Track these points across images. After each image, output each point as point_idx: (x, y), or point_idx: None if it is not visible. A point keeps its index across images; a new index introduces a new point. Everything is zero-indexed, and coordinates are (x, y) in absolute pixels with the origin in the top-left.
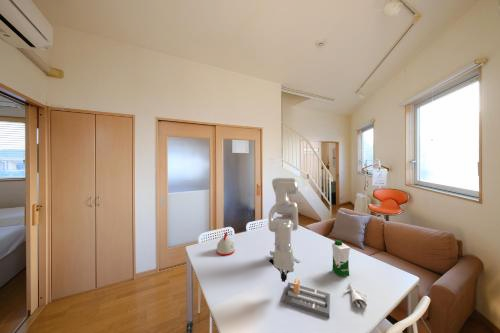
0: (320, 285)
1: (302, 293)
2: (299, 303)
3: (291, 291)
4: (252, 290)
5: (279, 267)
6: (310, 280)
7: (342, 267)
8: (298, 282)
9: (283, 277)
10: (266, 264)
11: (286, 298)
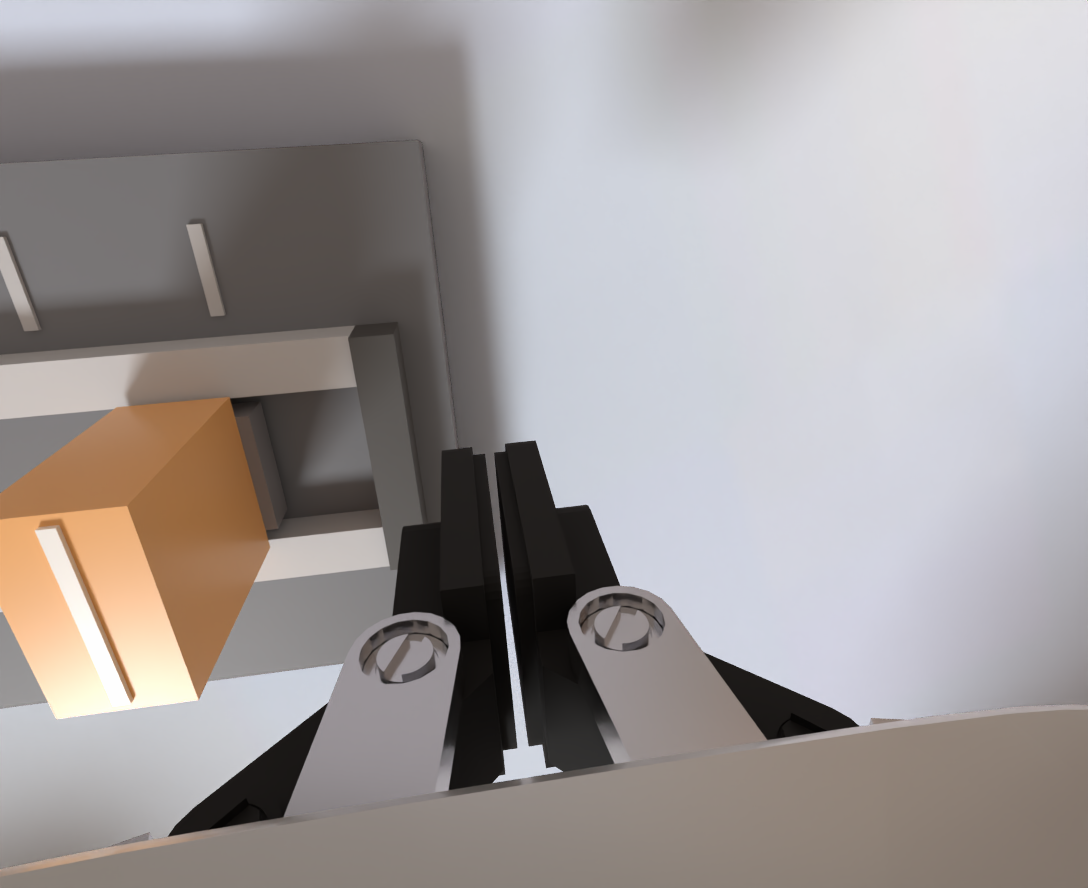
0: (29, 840)
1: None
2: (7, 192)
3: (331, 456)
4: (1051, 175)
5: (862, 826)
6: None
7: None
8: (23, 617)
9: (484, 522)
10: None
11: (337, 201)
